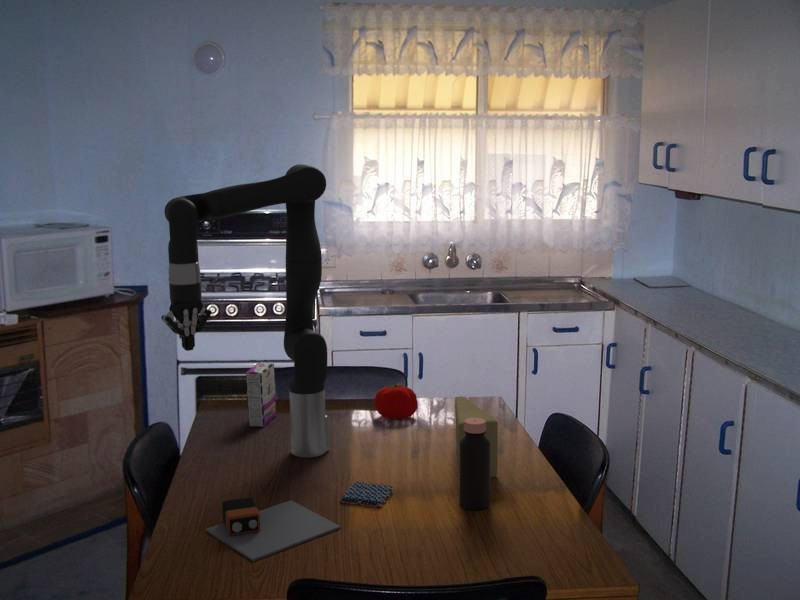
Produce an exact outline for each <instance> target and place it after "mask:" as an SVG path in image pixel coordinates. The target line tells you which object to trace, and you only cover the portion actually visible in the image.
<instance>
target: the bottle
mask: <svg viewBox="0 0 800 600" xmlns="http://www.w3.org/2000/svg"><path fill="white" fill-rule="evenodd" d="M464 432H465V436H464V437H463V438H462V440H461V441H460V472H459V505H460V506H461V507H462V508H463V509H465V510H470V511H482V510H486V509H487V508H489V506H490V498H491V497H490V494H491V493H490V488H491V487H490V485H491V478H490V442H489V440H488V439H487V438H486V437H485V433H486V420H484V419H482V418H476V417H475V418H467V419H465V420H464Z"/></svg>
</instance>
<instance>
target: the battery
mask: <svg viewBox="0 0 800 600" xmlns="http://www.w3.org/2000/svg"><path fill="white" fill-rule="evenodd" d="M221 504H222V505H221V506H222V507H221V508H222V519H223V523H225V526H226V529H227V532H228V535H229V536H233V535H240V534H246V533H253V532H259V531H260V514H259V511H260V510H259V509H258V507H257V504H256V502H255V500H254V498H253V497H245V498H237V499H229V500H223V501H222V503H221Z"/></svg>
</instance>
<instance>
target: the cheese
mask: <svg viewBox="0 0 800 600" xmlns="http://www.w3.org/2000/svg"><path fill="white" fill-rule="evenodd" d="M454 403H455V405H454V410H455V411H454V412H455V414H454V415H455V448H456V454H457V457H458V466H459V467H458V468H459V473H460V441H461V440H462V438H463V437H464V436H465V432H464V420H465V419H467V418H475V417H476V418H482V419H484V420H486V433H485V437H486V438H487V439H488V440H489V442H490V479H491V478H495V477H498V464H499V463H498V442H499V437H498V436H499V435H498V433H499V432H498V431H499V423H498V421H497V420H496V419H495V418H493V417H492V416H491V415H489V413H487V412H486V411H484V410H482V409H481V408H480V407H479V406H478V405H476V404H475V403H473V402H472V401H470V400H469V399H468V398H467V397H466V396H463V395H462V396H456V397H455V400H454Z"/></svg>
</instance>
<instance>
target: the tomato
mask: <svg viewBox="0 0 800 600" xmlns="http://www.w3.org/2000/svg"><path fill="white" fill-rule="evenodd" d="M373 401H374V408H375V410H376V412H378V414H379V415H380V416H381V417H382V418H386V419H389V420H401V419H408V418H409V419H410V417H412V416H413V415H414V414H415V413H416V412H417V410H418V407H419V403H418V398H417V393H415V391H414V390H413V389H412V388H410V387H407V386H406V385H403V384H400V383H397V384H394V383H393V384H392V385H386V386H383V387H382V388H380V389H379V390H378V391H377V392H376V394H375V396H374V399H373Z"/></svg>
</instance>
